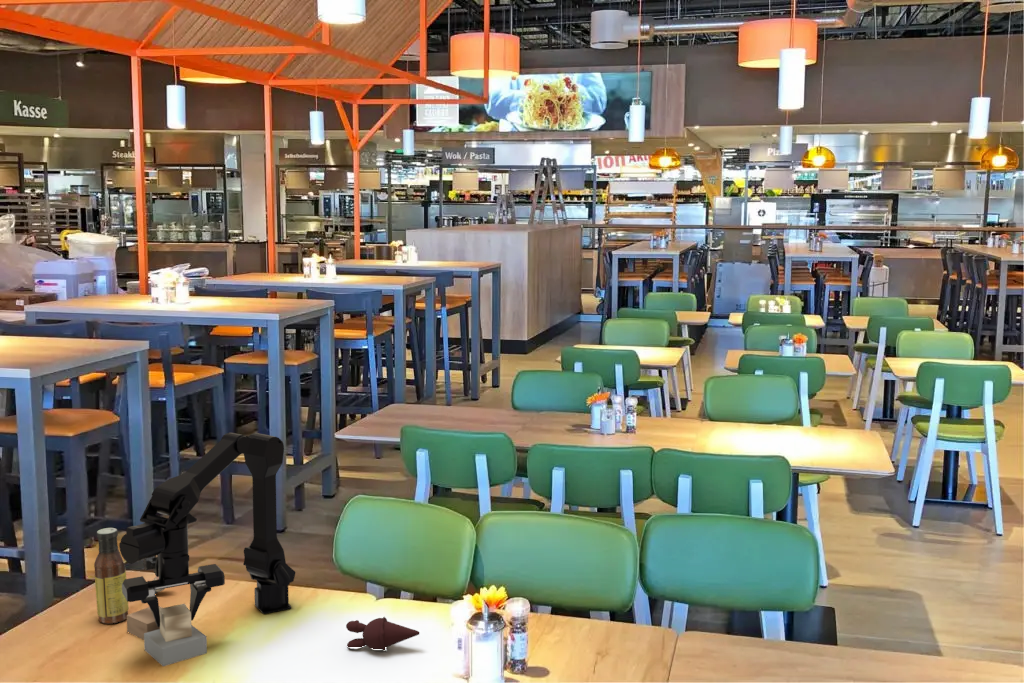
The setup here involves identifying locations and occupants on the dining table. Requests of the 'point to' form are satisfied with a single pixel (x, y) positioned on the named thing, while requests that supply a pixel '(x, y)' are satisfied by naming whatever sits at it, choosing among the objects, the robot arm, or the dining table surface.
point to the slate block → (174, 647)
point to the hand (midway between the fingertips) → (175, 623)
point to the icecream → (379, 633)
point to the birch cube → (175, 622)
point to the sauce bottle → (110, 579)
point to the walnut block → (141, 622)
